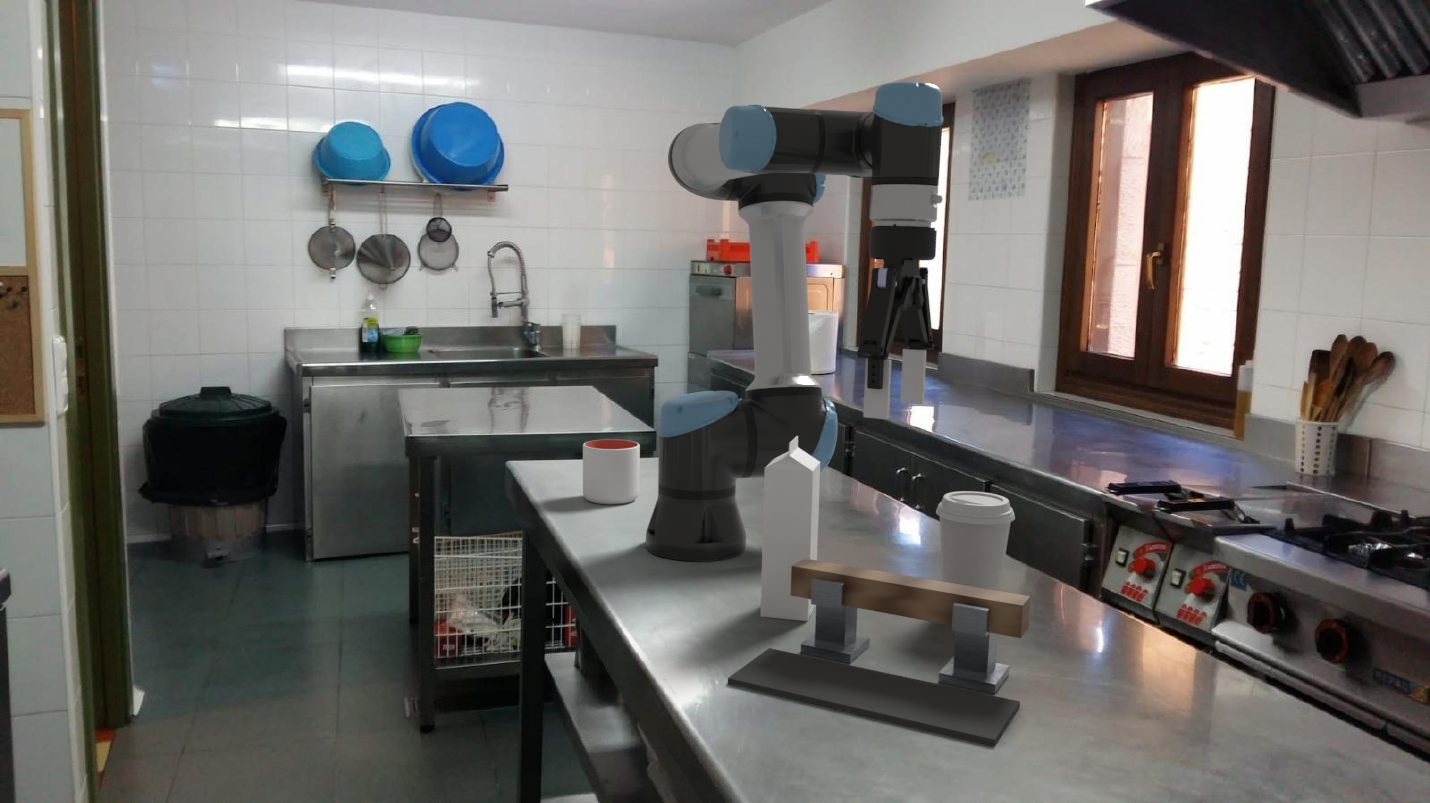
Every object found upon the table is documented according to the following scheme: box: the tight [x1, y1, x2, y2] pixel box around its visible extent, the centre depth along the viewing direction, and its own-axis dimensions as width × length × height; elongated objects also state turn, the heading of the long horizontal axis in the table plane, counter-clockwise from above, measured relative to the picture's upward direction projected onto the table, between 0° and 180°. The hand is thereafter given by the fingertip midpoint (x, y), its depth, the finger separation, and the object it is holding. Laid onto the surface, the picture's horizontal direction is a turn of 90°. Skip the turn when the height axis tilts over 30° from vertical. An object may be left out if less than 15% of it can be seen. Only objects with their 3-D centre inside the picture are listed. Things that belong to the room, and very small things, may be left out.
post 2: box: [938, 602, 1010, 695], centre depth 117 cm, size 6×7×9 cm
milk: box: [760, 436, 821, 622], centre depth 136 cm, size 6×6×22 cm
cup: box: [582, 438, 641, 505], centre depth 194 cm, size 10×10×10 cm
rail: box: [791, 558, 1031, 639], centre depth 120 cm, size 26×4×4 cm, turn 62°
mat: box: [727, 647, 1021, 747], centre depth 113 cm, size 28×10×1 cm, turn 62°
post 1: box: [800, 578, 871, 664], centre depth 125 cm, size 6×7×9 cm
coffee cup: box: [935, 490, 1016, 591], centre depth 137 cm, size 10×10×15 cm
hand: (894, 410), depth 127 cm, fingers open, 13 cm apart
